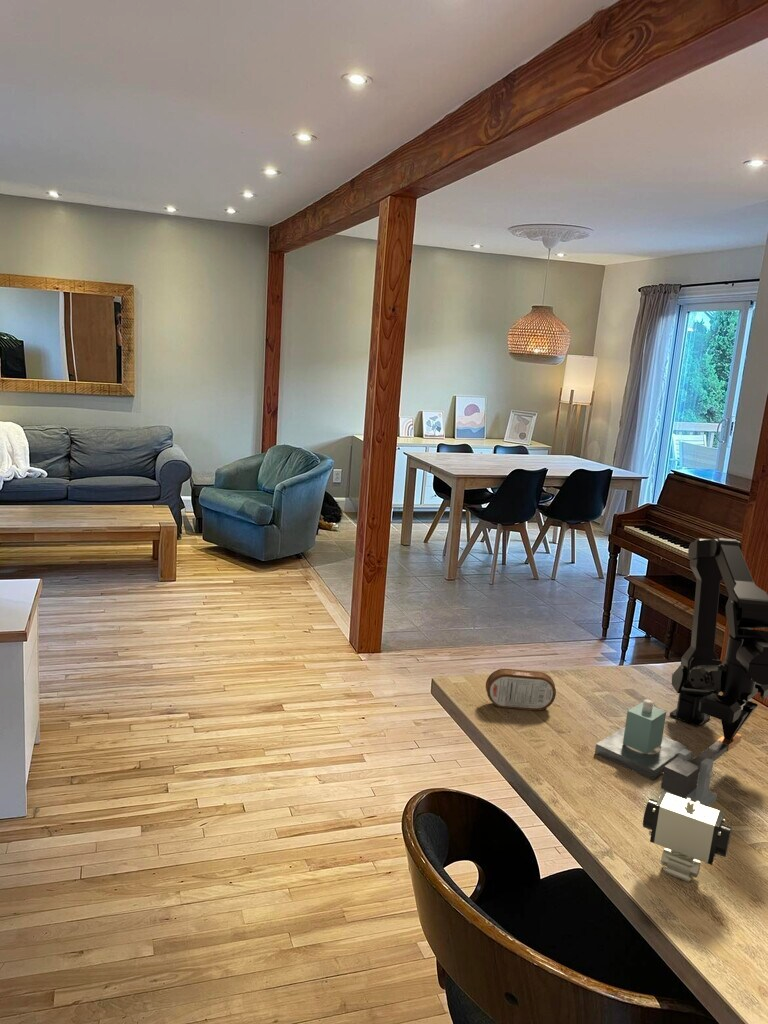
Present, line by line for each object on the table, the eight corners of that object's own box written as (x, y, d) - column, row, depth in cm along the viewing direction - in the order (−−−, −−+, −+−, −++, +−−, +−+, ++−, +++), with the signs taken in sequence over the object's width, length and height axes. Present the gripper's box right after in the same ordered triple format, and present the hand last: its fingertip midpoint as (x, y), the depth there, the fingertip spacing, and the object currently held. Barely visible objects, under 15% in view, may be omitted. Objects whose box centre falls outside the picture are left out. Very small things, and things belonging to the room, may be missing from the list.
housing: (637, 734, 154) (643, 692, 152) (661, 744, 150) (667, 702, 148) (622, 743, 149) (628, 701, 148) (646, 754, 146) (653, 710, 144)
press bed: (630, 731, 159) (631, 721, 159) (686, 755, 151) (687, 745, 150) (594, 753, 150) (596, 742, 149) (652, 780, 141) (654, 769, 141)
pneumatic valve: (717, 897, 111) (731, 824, 109) (635, 865, 117) (646, 795, 114) (723, 877, 116) (736, 806, 113) (644, 846, 122) (655, 778, 119)
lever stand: (678, 782, 141) (684, 743, 139) (715, 800, 136) (723, 759, 134) (662, 794, 137) (669, 753, 135) (701, 812, 132) (708, 770, 130)
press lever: (723, 741, 149) (726, 722, 149) (743, 750, 147) (747, 730, 146) (660, 788, 131) (664, 766, 131) (683, 798, 129) (687, 776, 128)
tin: (552, 707, 168) (556, 671, 166) (554, 713, 165) (559, 677, 163) (483, 701, 169) (487, 665, 167) (484, 708, 166) (488, 671, 164)
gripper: (719, 636, 154) (707, 708, 157) (677, 659, 141) (665, 736, 144) (777, 654, 146) (763, 729, 150) (738, 680, 133) (724, 761, 137)
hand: (728, 738), depth 145 cm, fingers closed, pressing on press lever
